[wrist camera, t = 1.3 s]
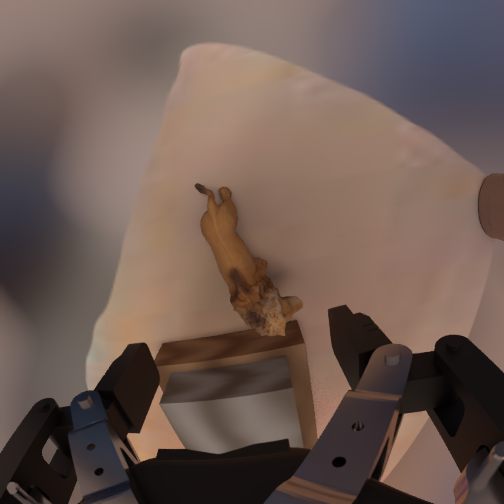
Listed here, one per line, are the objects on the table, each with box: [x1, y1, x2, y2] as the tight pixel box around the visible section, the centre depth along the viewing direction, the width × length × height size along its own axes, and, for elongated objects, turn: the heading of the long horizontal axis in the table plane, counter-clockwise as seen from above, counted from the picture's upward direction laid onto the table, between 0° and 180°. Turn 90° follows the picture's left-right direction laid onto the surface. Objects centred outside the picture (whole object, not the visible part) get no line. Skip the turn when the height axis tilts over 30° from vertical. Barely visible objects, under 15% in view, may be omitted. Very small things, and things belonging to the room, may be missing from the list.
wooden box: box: [154, 320, 318, 454], centre depth 28 cm, size 16×18×10 cm
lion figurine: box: [195, 183, 303, 336], centre depth 24 cm, size 15×5×9 cm, turn 34°
